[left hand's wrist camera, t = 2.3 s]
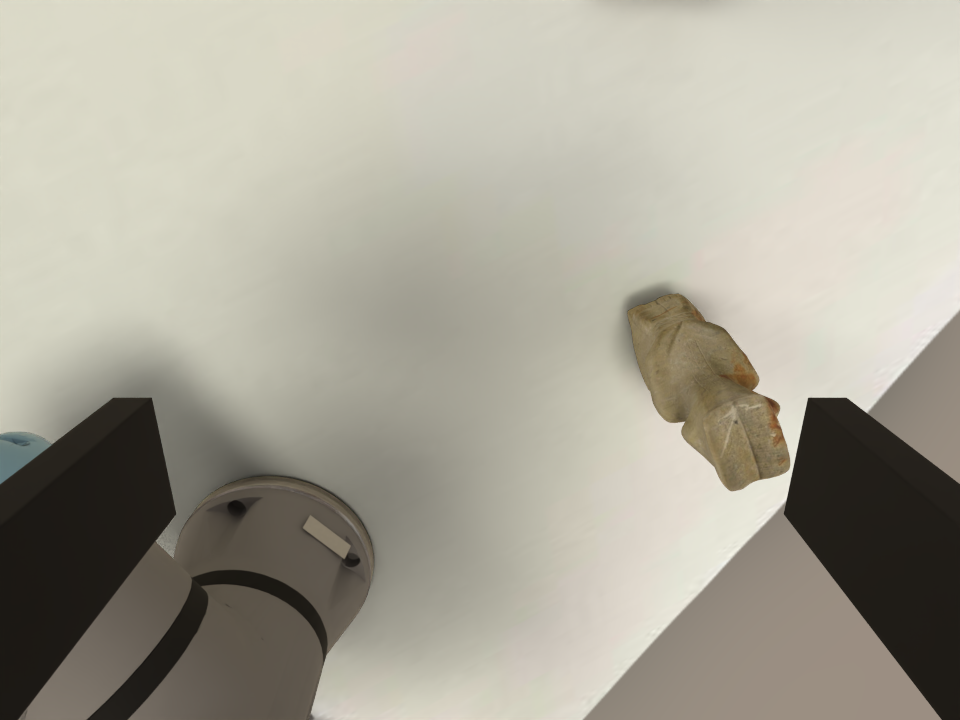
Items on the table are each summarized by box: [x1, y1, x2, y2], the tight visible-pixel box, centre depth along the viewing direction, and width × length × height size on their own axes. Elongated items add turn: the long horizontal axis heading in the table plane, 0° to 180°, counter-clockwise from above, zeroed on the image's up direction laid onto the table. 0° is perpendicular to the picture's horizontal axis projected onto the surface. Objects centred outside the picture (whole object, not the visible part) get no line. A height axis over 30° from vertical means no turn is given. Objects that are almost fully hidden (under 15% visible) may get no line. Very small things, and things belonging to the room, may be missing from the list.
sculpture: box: [628, 294, 790, 491], centre depth 37 cm, size 6×7×15 cm
